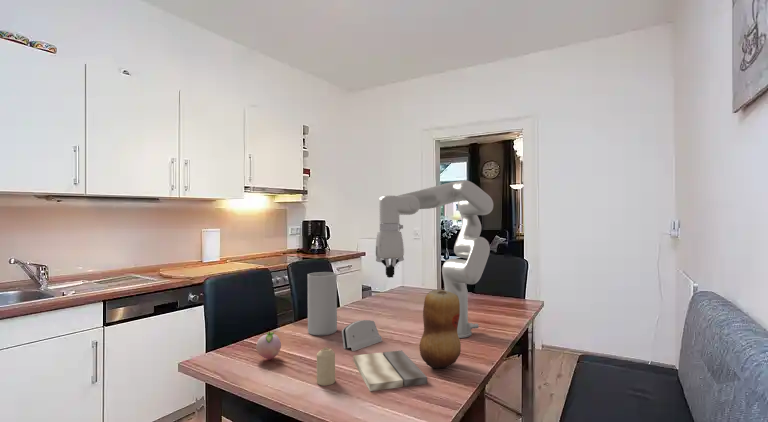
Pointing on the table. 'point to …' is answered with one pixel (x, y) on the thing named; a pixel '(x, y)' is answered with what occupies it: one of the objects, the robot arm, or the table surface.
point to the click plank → (377, 372)
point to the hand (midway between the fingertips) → (390, 276)
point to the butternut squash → (440, 329)
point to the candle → (325, 367)
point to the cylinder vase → (322, 303)
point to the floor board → (405, 368)
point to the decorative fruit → (268, 345)
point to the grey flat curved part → (360, 335)
